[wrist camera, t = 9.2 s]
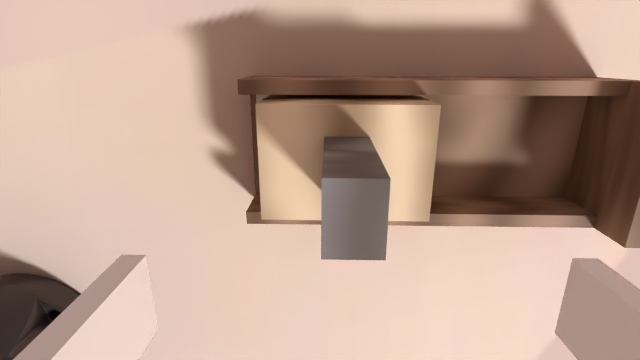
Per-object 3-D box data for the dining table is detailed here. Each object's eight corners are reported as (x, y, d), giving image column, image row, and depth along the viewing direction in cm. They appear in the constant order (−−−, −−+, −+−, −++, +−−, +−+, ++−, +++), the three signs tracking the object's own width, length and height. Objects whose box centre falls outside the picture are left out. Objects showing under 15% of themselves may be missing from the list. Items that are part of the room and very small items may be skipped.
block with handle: (272, 191, 32) (228, 296, 18) (268, 94, 30) (213, 128, 16) (412, 193, 32) (477, 300, 18) (420, 95, 30) (504, 130, 15)
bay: (258, 201, 34) (237, 242, 26) (251, 76, 30) (225, 82, 23) (569, 204, 33) (639, 247, 26) (597, 77, 30) (689, 84, 22)
